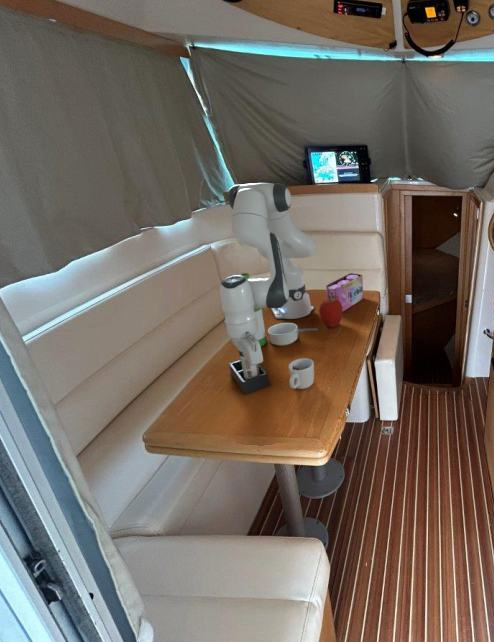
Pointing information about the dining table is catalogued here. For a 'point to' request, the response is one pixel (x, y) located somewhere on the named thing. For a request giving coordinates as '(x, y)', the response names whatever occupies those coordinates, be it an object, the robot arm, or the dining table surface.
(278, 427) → the dining table surface
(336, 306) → the apple
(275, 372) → the dining table surface
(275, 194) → the robot arm
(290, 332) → the saucepan
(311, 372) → the cup
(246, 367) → the beer can
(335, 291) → the gum box
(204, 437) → the dining table surface
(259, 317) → the bottle
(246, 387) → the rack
